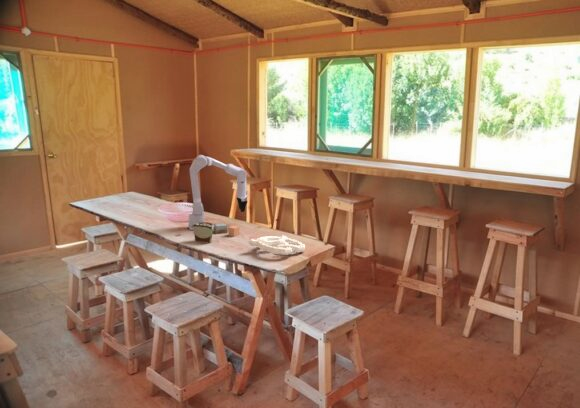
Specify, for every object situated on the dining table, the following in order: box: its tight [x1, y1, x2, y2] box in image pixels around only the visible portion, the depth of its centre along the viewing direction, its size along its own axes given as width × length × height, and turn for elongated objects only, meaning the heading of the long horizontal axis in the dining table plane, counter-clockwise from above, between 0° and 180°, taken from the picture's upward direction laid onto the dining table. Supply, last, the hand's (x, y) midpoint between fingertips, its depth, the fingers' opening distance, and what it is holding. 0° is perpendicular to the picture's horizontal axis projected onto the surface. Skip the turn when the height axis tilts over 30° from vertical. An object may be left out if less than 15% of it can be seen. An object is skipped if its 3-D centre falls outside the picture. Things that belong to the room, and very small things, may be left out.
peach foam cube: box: [228, 225, 240, 238], centre depth 254 cm, size 4×4×5 cm
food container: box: [192, 221, 214, 244], centre depth 242 cm, size 12×6×10 cm, turn 71°
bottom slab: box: [212, 228, 229, 235], centre depth 260 cm, size 7×7×2 cm
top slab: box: [213, 222, 228, 230], centre depth 260 cm, size 6×6×2 cm
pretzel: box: [247, 235, 306, 256], centre depth 229 cm, size 28×24×6 cm
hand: (241, 210), depth 272 cm, fingers open, 7 cm apart
